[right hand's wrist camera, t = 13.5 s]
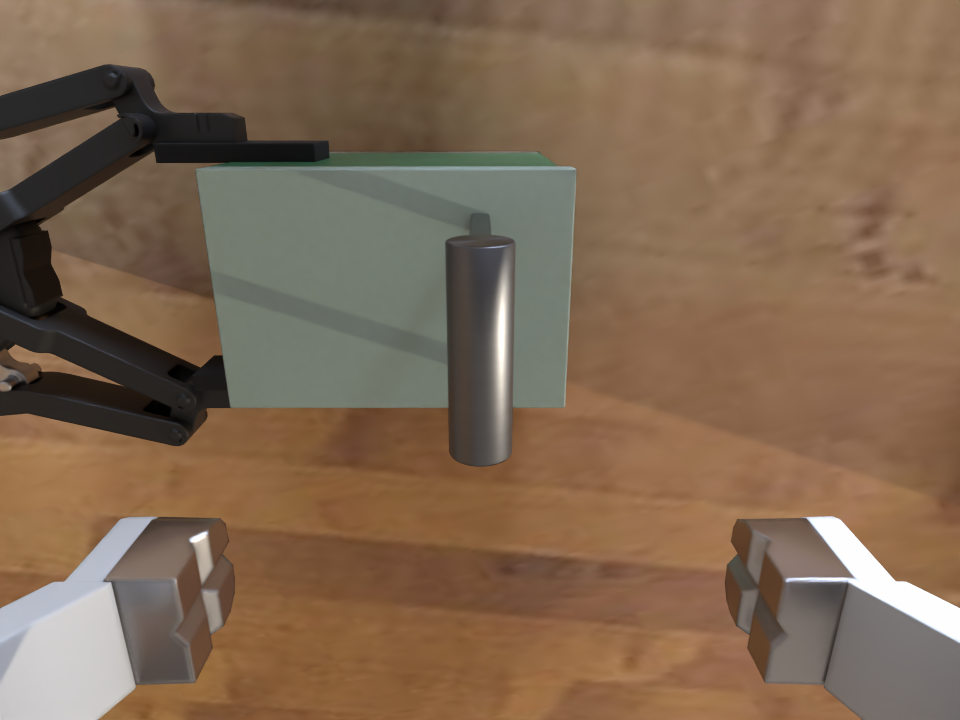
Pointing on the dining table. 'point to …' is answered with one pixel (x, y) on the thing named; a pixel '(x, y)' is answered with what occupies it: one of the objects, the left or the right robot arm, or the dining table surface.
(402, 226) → the lid
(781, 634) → the right robot arm
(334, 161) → the chest
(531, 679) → the dining table surface
